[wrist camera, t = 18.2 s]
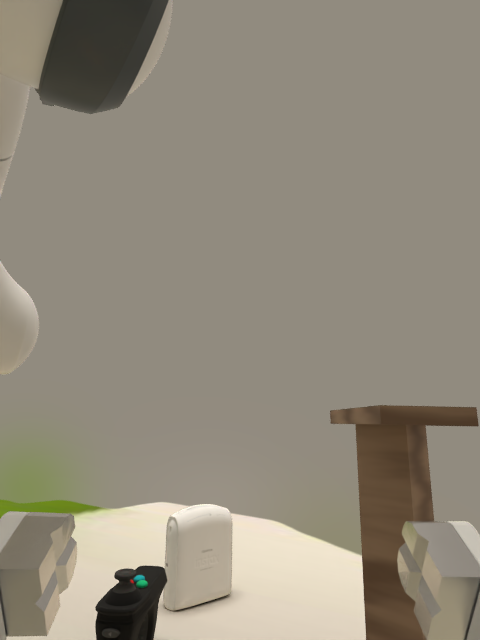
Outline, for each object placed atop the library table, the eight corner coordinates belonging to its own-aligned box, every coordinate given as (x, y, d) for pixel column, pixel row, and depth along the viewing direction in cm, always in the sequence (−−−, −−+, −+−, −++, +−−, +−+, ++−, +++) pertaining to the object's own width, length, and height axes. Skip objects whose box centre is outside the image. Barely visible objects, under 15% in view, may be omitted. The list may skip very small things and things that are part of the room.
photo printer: (172, 615, 52) (177, 511, 55) (157, 603, 56) (163, 506, 59) (235, 596, 58) (237, 504, 61) (219, 586, 62) (221, 499, 65)
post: (507, 876, 23) (455, 404, 29) (271, 722, 34) (271, 406, 40) (549, 721, 35) (505, 411, 41) (364, 645, 46) (353, 412, 52)
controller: (79, 712, 35) (91, 581, 37) (131, 638, 46) (138, 542, 49) (127, 717, 34) (137, 584, 37) (167, 641, 46) (172, 544, 48)
